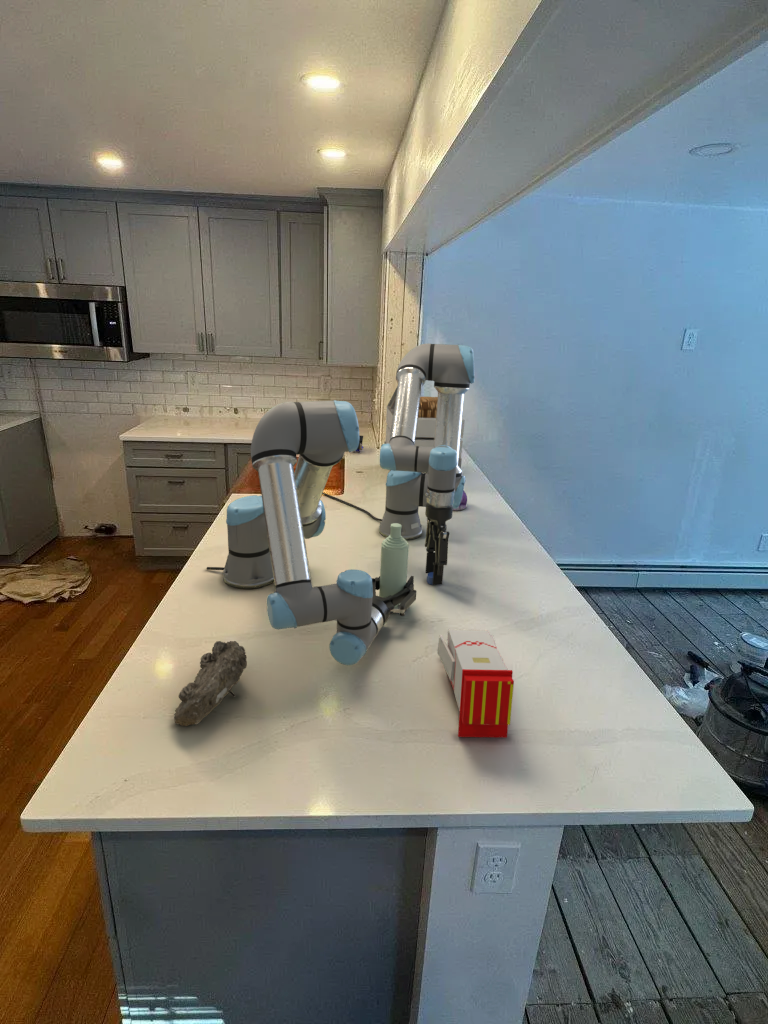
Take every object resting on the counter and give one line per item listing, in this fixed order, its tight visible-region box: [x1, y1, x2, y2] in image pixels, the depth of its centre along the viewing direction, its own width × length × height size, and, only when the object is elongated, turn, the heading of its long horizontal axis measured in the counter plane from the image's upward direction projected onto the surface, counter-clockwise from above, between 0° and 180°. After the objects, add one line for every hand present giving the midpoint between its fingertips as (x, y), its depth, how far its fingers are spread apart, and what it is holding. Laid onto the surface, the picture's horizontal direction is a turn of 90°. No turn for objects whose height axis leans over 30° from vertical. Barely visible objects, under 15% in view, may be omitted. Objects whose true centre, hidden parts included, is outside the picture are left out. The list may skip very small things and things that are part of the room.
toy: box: [437, 628, 515, 738], centre depth 117 cm, size 12×13×30 cm
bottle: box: [378, 523, 410, 614], centre depth 147 cm, size 7×7×23 cm
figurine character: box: [352, 434, 364, 454], centre depth 311 cm, size 7×8×15 cm
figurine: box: [453, 474, 468, 511], centre depth 227 cm, size 9×10×15 cm
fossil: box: [173, 640, 248, 727], centre depth 113 cm, size 22×10×15 cm
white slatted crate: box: [383, 385, 465, 472], centre depth 268 cm, size 34×33×41 cm
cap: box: [426, 572, 434, 586], centre depth 165 cm, size 4×4×2 cm
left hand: (398, 577), depth 154 cm, fingers closed on bottle, 7 cm apart
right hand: (433, 578), depth 165 cm, fingers open, 7 cm apart
